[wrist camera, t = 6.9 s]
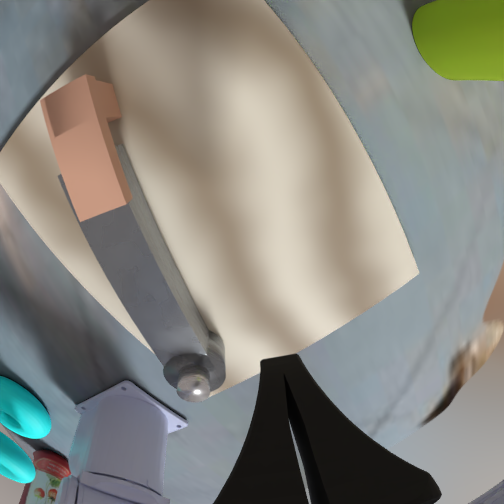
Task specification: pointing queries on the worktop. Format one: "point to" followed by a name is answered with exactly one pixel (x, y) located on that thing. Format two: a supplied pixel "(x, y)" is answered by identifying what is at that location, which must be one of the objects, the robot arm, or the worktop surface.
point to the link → (155, 291)
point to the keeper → (87, 145)
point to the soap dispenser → (462, 38)
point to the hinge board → (228, 178)
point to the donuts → (20, 429)
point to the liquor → (45, 478)
